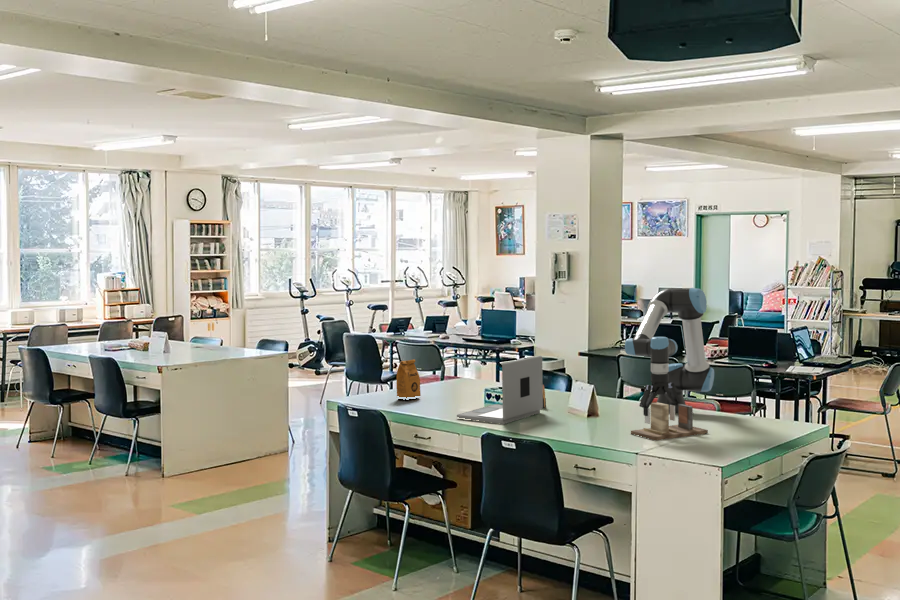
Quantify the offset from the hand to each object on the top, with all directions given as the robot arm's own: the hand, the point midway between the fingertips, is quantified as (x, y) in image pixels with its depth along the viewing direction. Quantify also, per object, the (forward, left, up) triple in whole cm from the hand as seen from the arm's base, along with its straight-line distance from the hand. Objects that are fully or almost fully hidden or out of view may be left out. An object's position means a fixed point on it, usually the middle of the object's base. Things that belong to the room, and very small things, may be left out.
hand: (660, 421), depth 387 cm
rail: (-5, 0, -6) cm, 8 cm away
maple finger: (0, 0, -4) cm, 4 cm away
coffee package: (+55, -146, -6) cm, 156 cm away
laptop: (+36, -76, -6) cm, 84 cm away
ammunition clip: (+7, -89, -6) cm, 89 cm away
